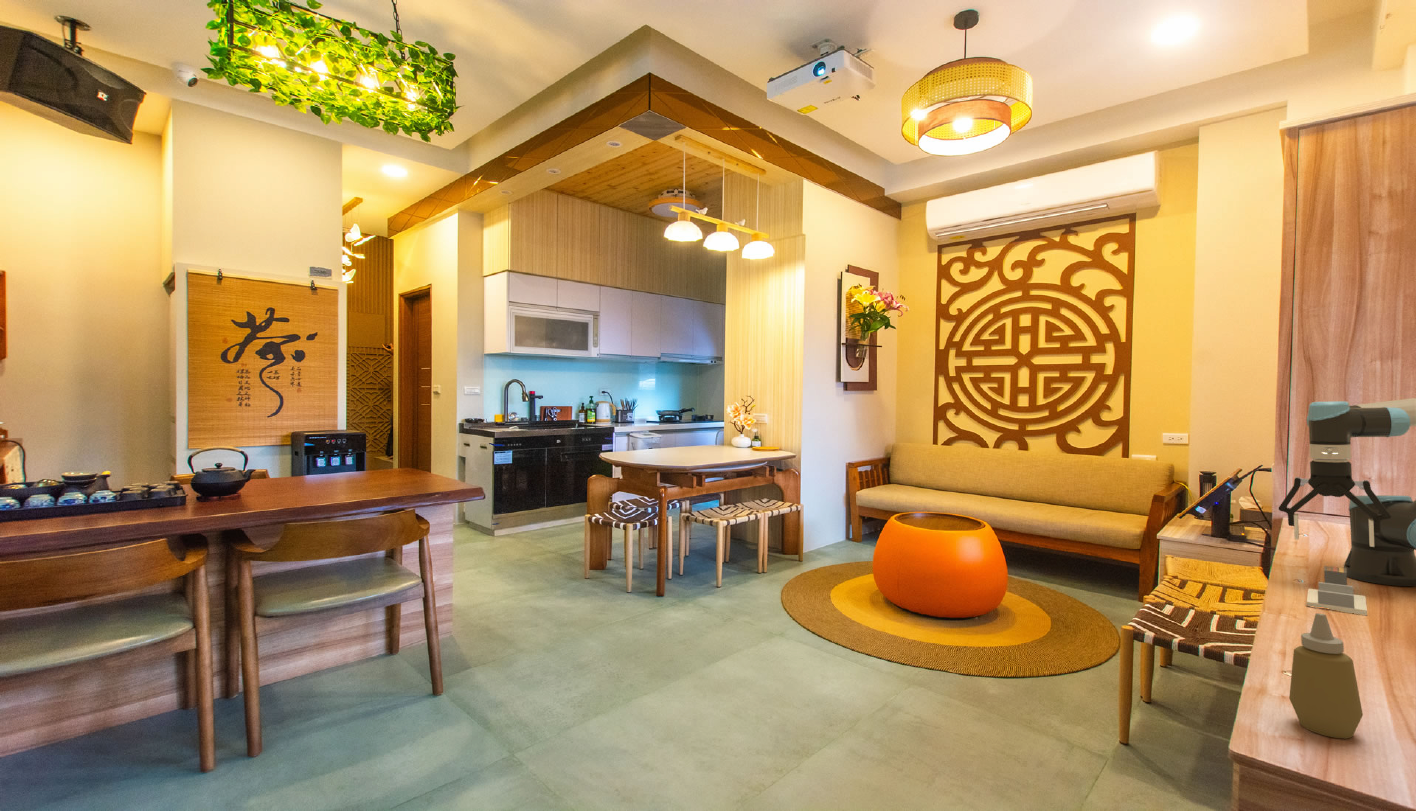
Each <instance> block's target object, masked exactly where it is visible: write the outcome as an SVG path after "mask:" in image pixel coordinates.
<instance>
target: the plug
mask: <svg viewBox="0 0 1416 811" xmlns="http://www.w3.org/2000/svg"><path fill="white" fill-rule="evenodd" d="M1323 570H1324V572H1323V573H1324V575H1323V576H1324V583H1332V584H1340V585H1348V577H1347V571H1346V568H1343V567H1341V566H1339V567H1338V566H1332V565H1324V568H1323Z"/></svg>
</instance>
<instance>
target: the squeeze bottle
mask: <svg viewBox="0 0 1416 811" xmlns="http://www.w3.org/2000/svg"><path fill="white" fill-rule="evenodd" d="M1300 638H1301V639H1300V640H1301V645H1299V646H1297V647H1295V648H1294V649H1293V654H1292V655H1293V657H1292V666H1291V676H1290V677H1291V678H1290V684H1289V685H1290V688H1289V701H1290V703H1291V705H1292V708H1293V710H1294V712H1295V714H1296V717H1297V719H1298V721H1299V723H1300V725H1301V726H1302V727H1304V728H1305V729H1307V730H1309V731H1311V732H1313V733H1315V734H1318V735H1322V736H1324V737H1330V738H1335V739H1351V738H1352V737H1354V734H1355V732H1357V731H1356V730H1357V728H1358V726H1359V724H1360V722H1361V720H1362V719H1363V715H1364V714H1363V707H1362V703H1361V698H1360V697H1361V696H1360V693H1359V688H1358V681H1357V676H1356V671H1355V666H1354V660H1353V659H1352V658H1351V656H1349V655H1348V654H1346V653H1344V650H1345V648H1344V641H1343V640H1342V639H1340V638H1338V637H1336V636H1334V635H1333V632H1332V629H1331V626H1330V623H1329V620H1328V618H1327V615H1326V614H1324V613H1319V612H1318V613H1315V615H1314V618H1313V622H1312V625H1311V629H1310V632H1304V633H1302V634H1301V635H1300Z"/></svg>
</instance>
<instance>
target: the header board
mask: <svg viewBox="0 0 1416 811" xmlns="http://www.w3.org/2000/svg"><path fill="white" fill-rule="evenodd" d="M1307 590H1308V591H1307V597H1306V606H1307V605H1308V606H1314V607H1324V608H1329V609H1332V610H1338V611H1337V612H1339V611H1341V612H1340V613H1347V614H1352V613H1354V615H1359V616H1360V615H1361V616H1368V609H1367V600H1366V595H1362V594H1354V585H1349V584H1347V585H1340V584H1332V583H1325V581H1324V582H1323V581H1318V589H1316V588H1308V589H1307ZM1332 610H1331V611H1332Z"/></svg>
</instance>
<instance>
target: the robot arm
mask: <svg viewBox="0 0 1416 811" xmlns="http://www.w3.org/2000/svg"><path fill="white" fill-rule="evenodd" d="M1307 412H1308V413H1307V416H1306V425H1307V427H1308V436H1309V439H1308V440H1309V444H1308V445H1309V458H1310V459H1311V460H1310V462H1309V465H1310V466H1309V469H1310V470H1309V472H1310V478H1302V477H1299V476H1297V477H1294V480H1293V481H1294V482H1293V485H1292V487H1291V489H1290V491H1289V492H1287V495H1286V496H1285V498H1284V499H1283V501H1282V502H1281V504H1280V505H1279V507H1278V511H1280V512H1284V513H1286V514H1287V523H1288V526H1290V527H1294V528H1293V529H1294V530H1293V531H1294V540H1297V541H1298V540H1299V539H1300V530H1299V529H1300V526H1299V513H1296V512H1297V511H1298V510H1300V509H1301V508H1302V507H1304V506H1305V505H1306V504H1307V503H1309V502H1310V501H1311V500H1313V498H1315V497H1317V496H1318V495H1320V496H1323V497H1335V498H1341V497H1346V498H1347V499H1349V506H1348V512H1349V526H1350V543H1351V544H1350V546H1351V548H1350V550H1349V553H1348V555H1347V558H1346V560H1345V562H1344V564H1343V567H1342V568H1346V571H1347V578H1351V579H1354V580H1358V581H1362V582H1367V583H1371V584H1372V583H1373V584H1378V585H1387V586H1394V587H1395V586H1396V587H1397V586H1398V587H1416V554H1415V551H1416V499H1415V500H1413V499H1412V497H1411V496H1409V495H1386V494H1385V495H1382V494H1381V495H1379V494H1378V495H1377V494H1375V492H1374V491H1373V490H1372V487H1371V482H1370V481H1369V480H1368V479H1365V480H1354V479H1353V476H1352V475H1353V474H1352V471H1353V470H1352V469H1353V468H1352V463H1351V462H1350V460H1351V459H1352V447H1351V445H1352V444H1351V443H1352V442H1351V438H1390V437H1401V436H1403V435H1405V434H1406V433H1407V432H1409V430H1410V428H1411V427H1416V397H1413V398H1405V399H1403V398H1402V399H1395V400H1388V401H1378V402H1369V403H1362V404H1361V403H1360V404H1353V405H1350V403H1349V402H1348V401H1342V400H1341V401H1337V400H1336V401H1332V400H1331V401H1314V402H1310V403H1309V405H1308V411H1307ZM1306 484H1308V486H1309V485H1310V487H1311V488H1312V490H1310V492H1308V493H1307V494H1305V496H1303V497H1302V498H1301V499H1300V500H1298V502H1296V503H1295V504H1294V505H1292V506H1291V507H1288V505H1290V503H1291V501H1292V500H1293V498H1294V497H1295V495H1296V494H1297V493H1298V491H1299V490H1300V487H1304V486H1305V485H1306ZM1355 486H1356V487H1358V489H1360V490H1363V491H1364V493H1365V494H1366V495H1355V494H1354V493H1353V492H1351V490H1352V489H1353V488H1354V487H1355Z"/></svg>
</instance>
